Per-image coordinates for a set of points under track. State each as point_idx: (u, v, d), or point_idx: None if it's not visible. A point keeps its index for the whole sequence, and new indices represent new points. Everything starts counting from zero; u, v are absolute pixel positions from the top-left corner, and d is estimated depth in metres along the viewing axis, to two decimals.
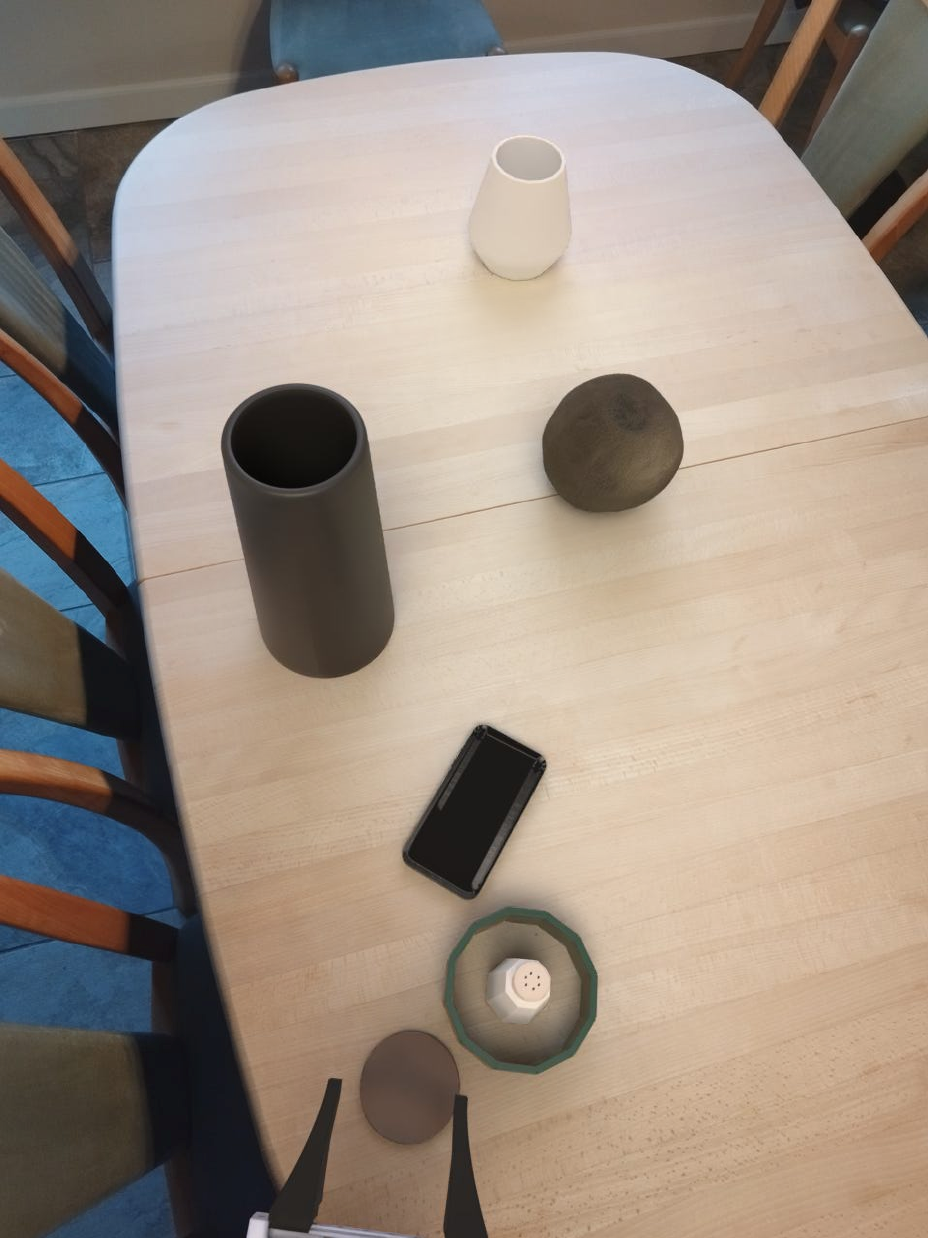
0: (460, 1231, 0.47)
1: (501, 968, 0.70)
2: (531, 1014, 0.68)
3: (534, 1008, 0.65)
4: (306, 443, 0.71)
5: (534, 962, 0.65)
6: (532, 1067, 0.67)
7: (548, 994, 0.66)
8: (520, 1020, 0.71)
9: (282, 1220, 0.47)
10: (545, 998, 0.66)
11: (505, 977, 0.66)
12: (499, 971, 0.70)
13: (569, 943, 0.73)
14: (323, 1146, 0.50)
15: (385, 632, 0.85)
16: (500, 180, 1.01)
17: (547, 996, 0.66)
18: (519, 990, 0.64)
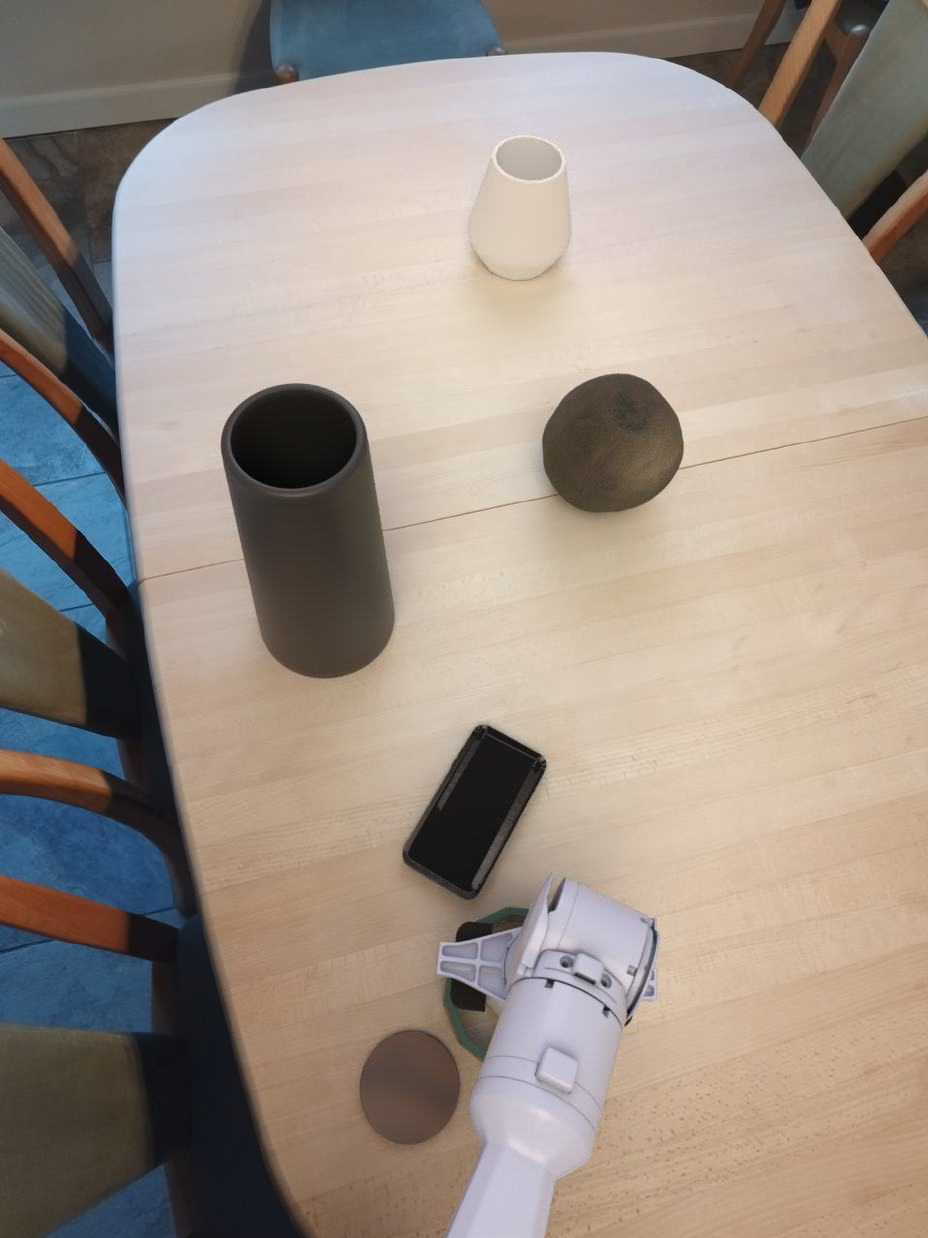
0: None
1: None
2: None
3: None
4: (306, 443, 0.71)
5: None
6: None
7: None
8: None
9: None
10: None
11: None
12: None
13: None
14: None
15: (384, 632, 0.85)
16: (500, 180, 1.01)
17: None
18: None
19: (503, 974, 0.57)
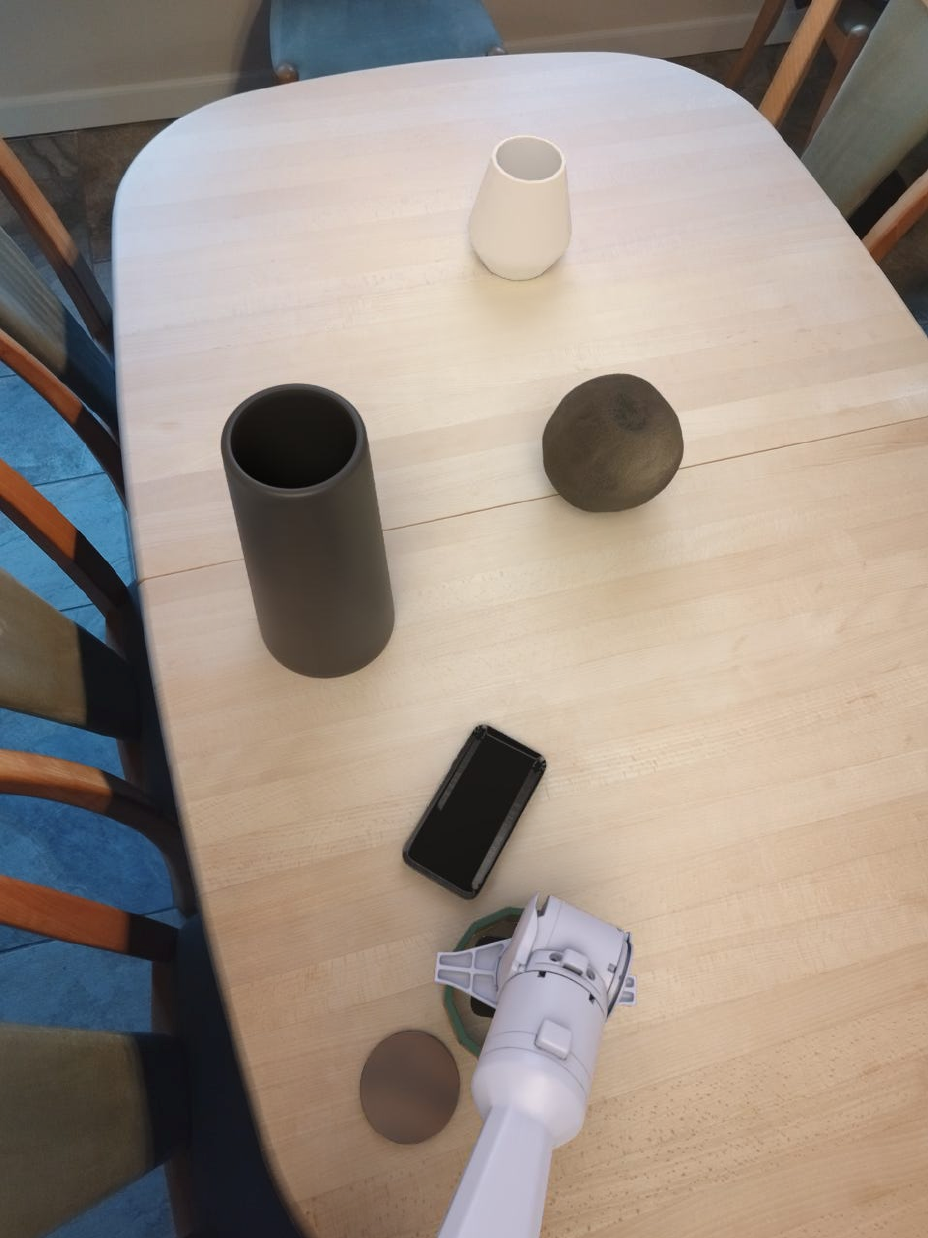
0: None
1: None
2: None
3: None
4: (306, 443, 0.71)
5: None
6: None
7: None
8: None
9: None
10: None
11: None
12: None
13: None
14: None
15: (384, 632, 0.85)
16: (500, 180, 1.01)
17: None
18: None
19: (495, 982, 0.62)
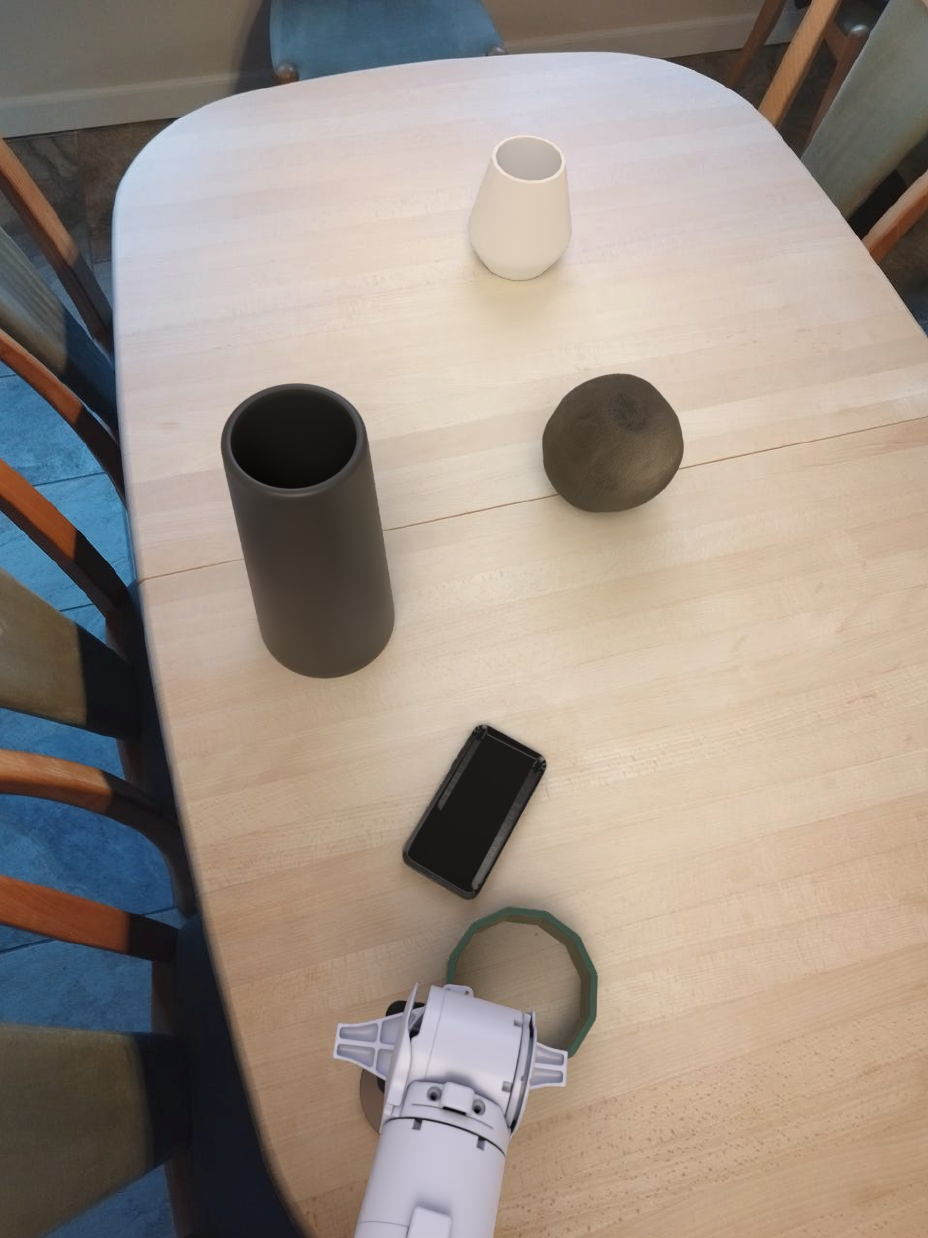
0: None
1: None
2: None
3: None
4: (306, 443, 0.71)
5: None
6: None
7: None
8: None
9: (401, 1000, 0.57)
10: None
11: None
12: None
13: (569, 943, 0.73)
14: None
15: (384, 632, 0.85)
16: (500, 180, 1.01)
17: None
18: None
19: None
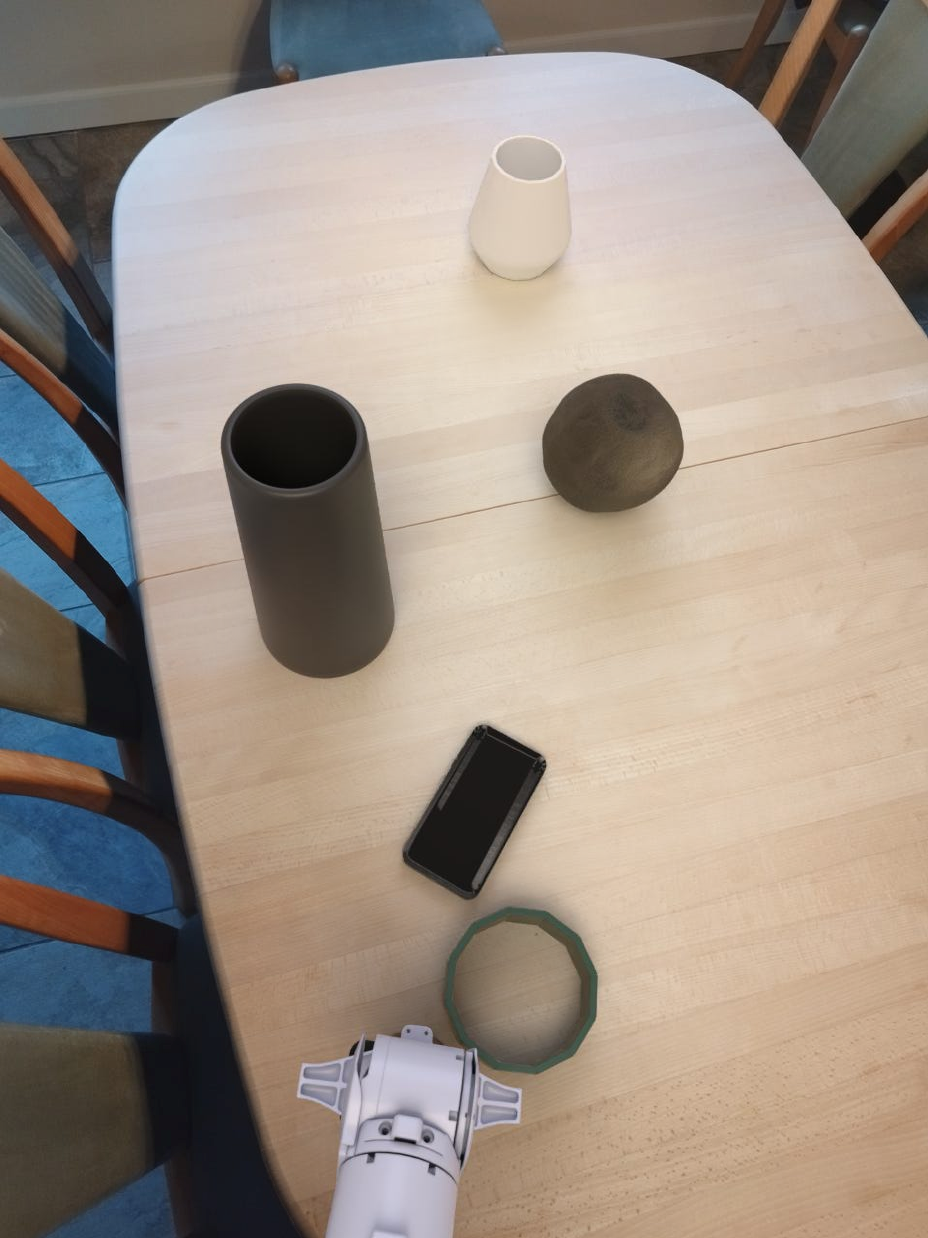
0: None
1: None
2: None
3: None
4: (306, 443, 0.71)
5: None
6: (532, 1067, 0.67)
7: None
8: None
9: (364, 1040, 0.59)
10: None
11: None
12: None
13: (569, 943, 0.73)
14: None
15: (384, 632, 0.85)
16: (500, 180, 1.01)
17: None
18: None
19: None
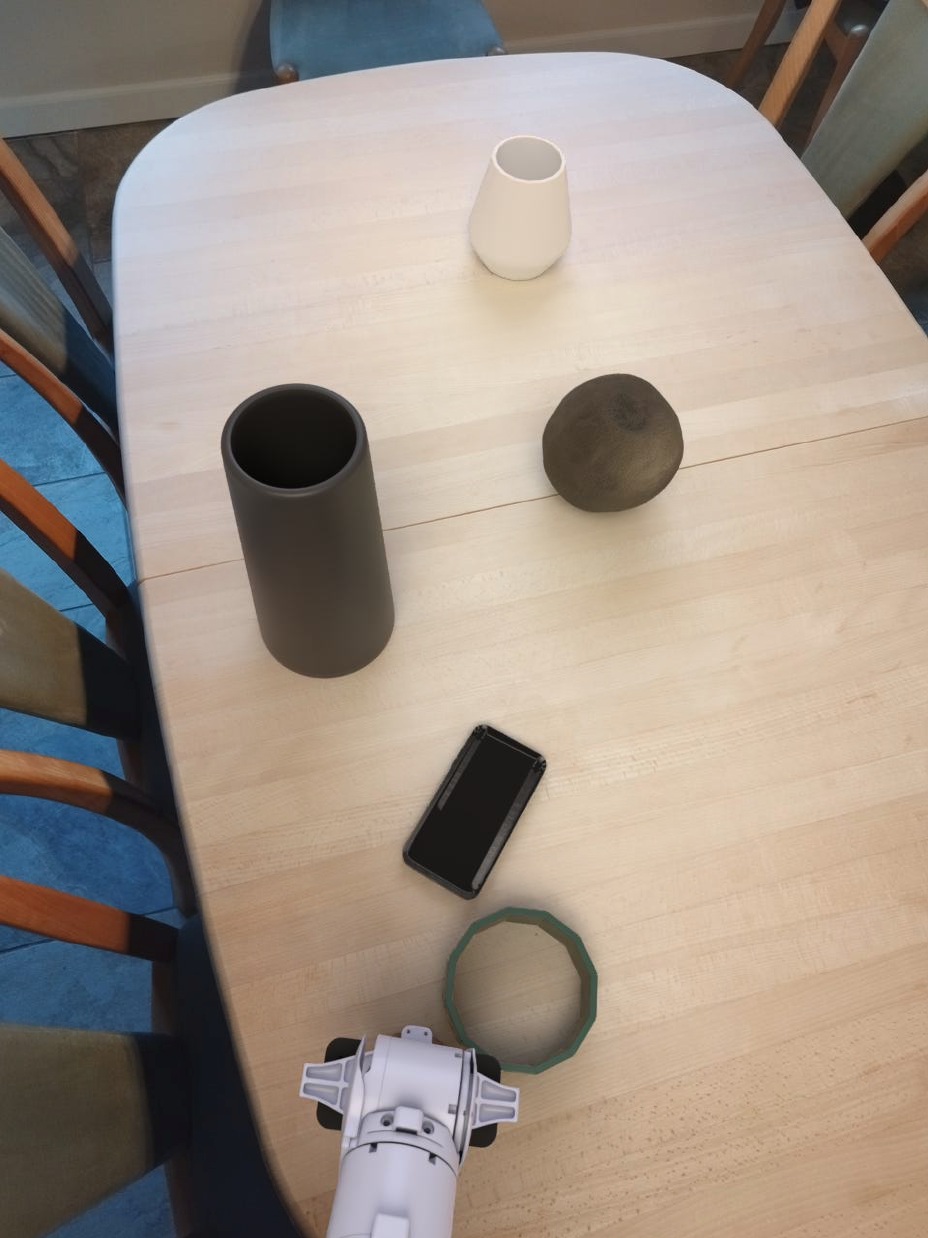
0: None
1: None
2: None
3: None
4: (306, 443, 0.71)
5: None
6: (532, 1067, 0.67)
7: None
8: None
9: (341, 1037, 0.61)
10: None
11: None
12: None
13: (569, 943, 0.73)
14: None
15: (384, 632, 0.85)
16: (500, 180, 1.01)
17: None
18: None
19: None
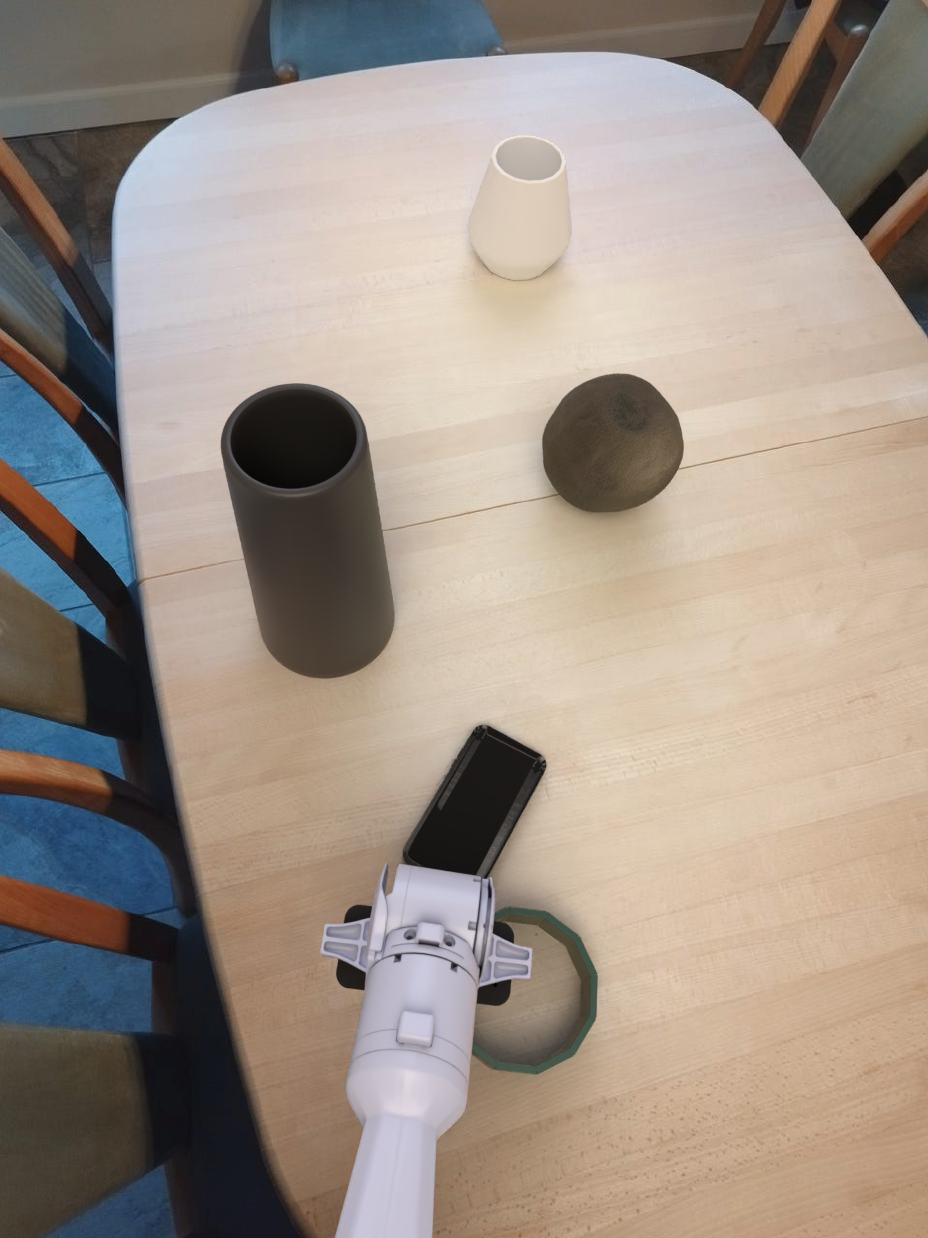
0: None
1: None
2: None
3: None
4: (306, 443, 0.71)
5: None
6: (532, 1067, 0.67)
7: None
8: None
9: (359, 905, 0.63)
10: None
11: None
12: None
13: (569, 943, 0.73)
14: None
15: (384, 632, 0.85)
16: (500, 180, 1.01)
17: None
18: None
19: None
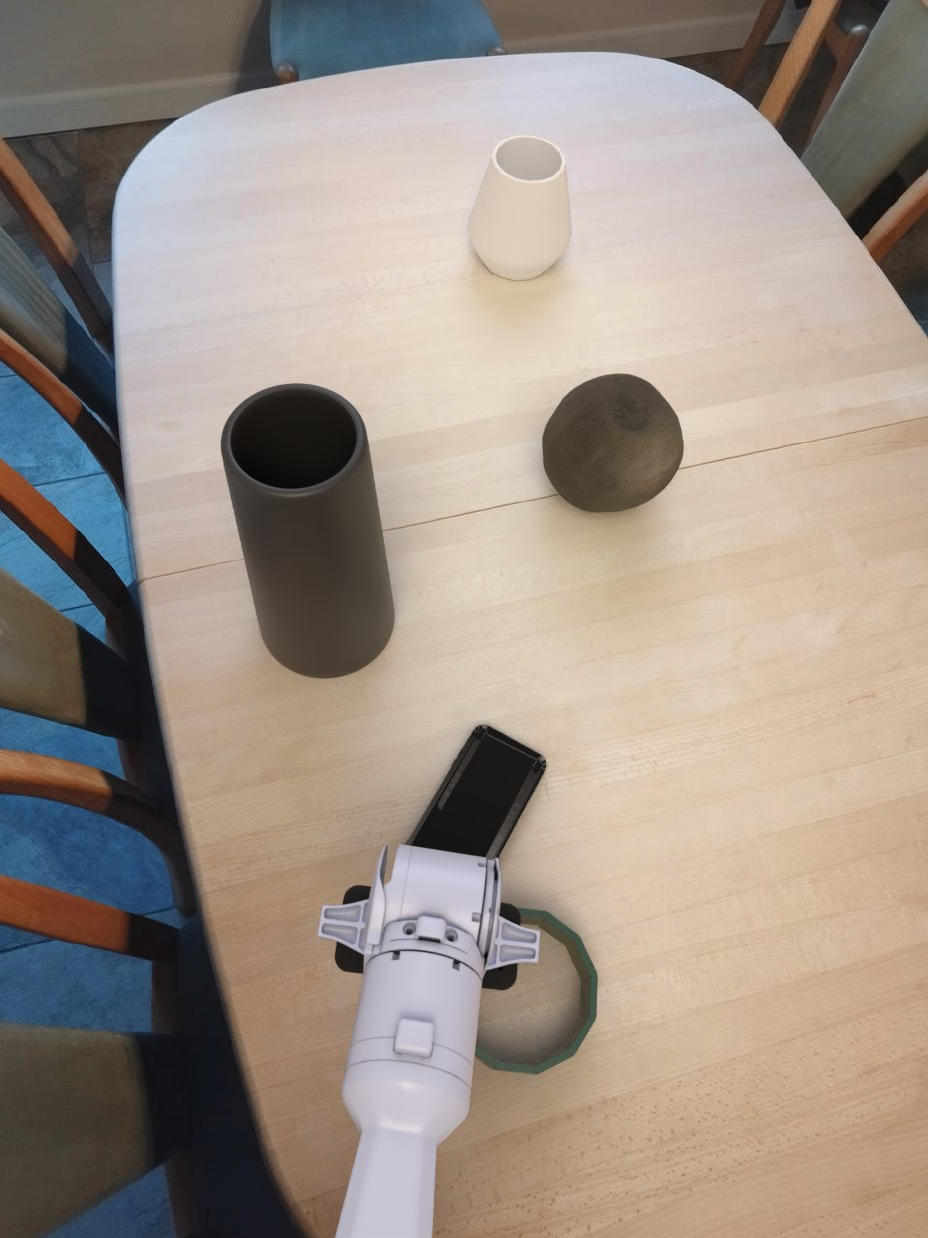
0: None
1: None
2: None
3: None
4: (306, 443, 0.71)
5: None
6: (532, 1067, 0.67)
7: None
8: None
9: None
10: None
11: None
12: None
13: (569, 943, 0.73)
14: None
15: (384, 632, 0.85)
16: (500, 180, 1.01)
17: None
18: None
19: None
